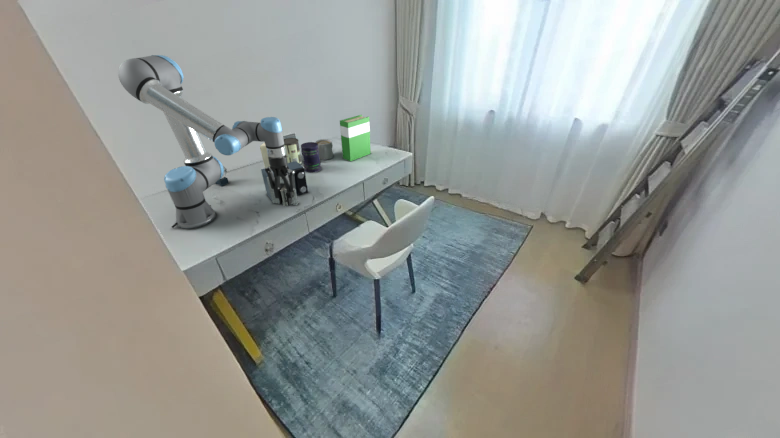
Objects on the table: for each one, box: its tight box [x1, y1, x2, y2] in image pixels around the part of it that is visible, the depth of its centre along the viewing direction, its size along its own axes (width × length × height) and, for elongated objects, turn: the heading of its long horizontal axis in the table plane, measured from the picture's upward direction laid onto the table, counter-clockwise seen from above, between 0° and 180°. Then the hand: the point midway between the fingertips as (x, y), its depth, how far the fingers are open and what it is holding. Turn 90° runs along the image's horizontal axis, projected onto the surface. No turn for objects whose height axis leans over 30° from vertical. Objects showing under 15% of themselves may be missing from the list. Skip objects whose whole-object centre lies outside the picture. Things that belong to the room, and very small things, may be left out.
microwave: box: [260, 161, 309, 201], centre depth 159 cm, size 11×18×14 cm, turn 125°
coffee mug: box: [315, 138, 334, 161], centre depth 203 cm, size 13×10×10 cm
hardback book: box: [339, 114, 372, 162], centre depth 199 cm, size 18×7×24 cm, turn 138°
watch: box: [215, 165, 230, 187], centre depth 169 cm, size 6×8×11 cm
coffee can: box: [283, 137, 303, 165], centre depth 192 cm, size 10×10×14 cm
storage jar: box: [300, 141, 322, 174], centre depth 184 cm, size 10×10×15 cm
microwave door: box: [267, 177, 299, 207], centre depth 148 cm, size 8×13×14 cm, turn 82°
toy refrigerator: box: [259, 142, 270, 169], centre depth 170 cm, size 8×7×21 cm
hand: (286, 202), depth 147 cm, fingers open, 3 cm apart
